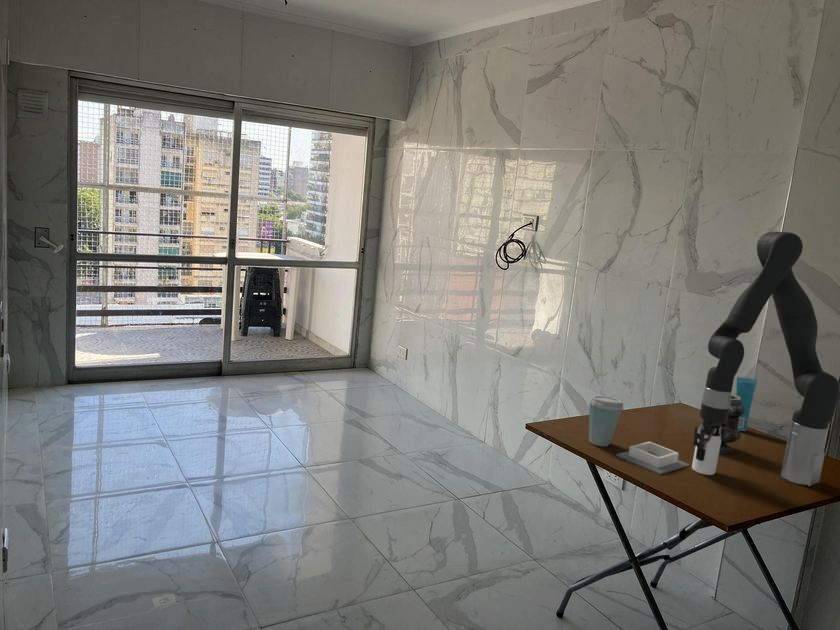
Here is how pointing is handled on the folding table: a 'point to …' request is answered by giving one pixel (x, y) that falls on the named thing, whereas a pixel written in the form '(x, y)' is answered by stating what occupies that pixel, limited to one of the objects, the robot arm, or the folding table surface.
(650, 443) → the board
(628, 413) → the folding table surface
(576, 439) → the folding table surface
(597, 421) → the disposable coffee cup
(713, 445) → the can
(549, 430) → the folding table surface
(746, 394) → the tube
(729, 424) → the apothecary jar
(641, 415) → the folding table surface
